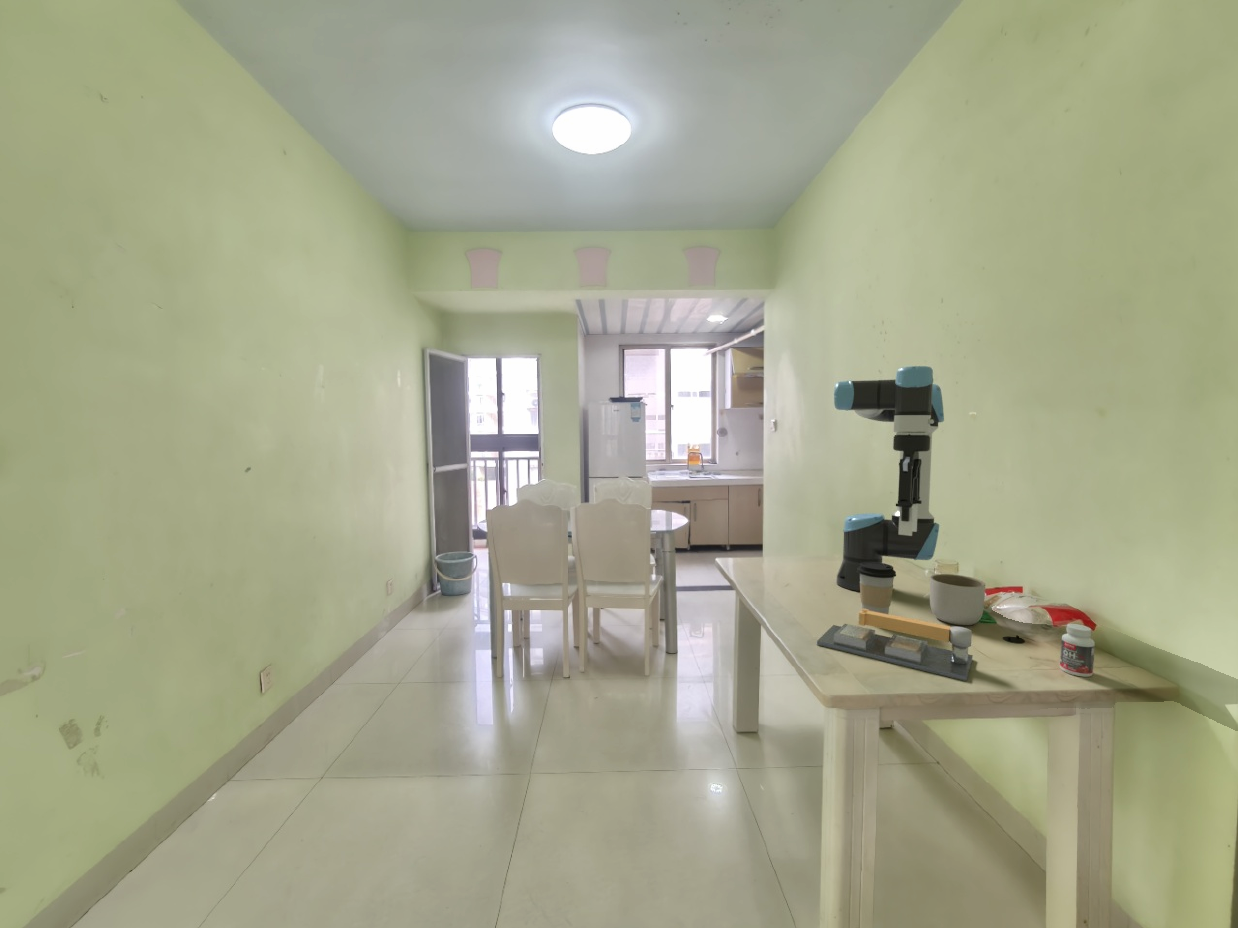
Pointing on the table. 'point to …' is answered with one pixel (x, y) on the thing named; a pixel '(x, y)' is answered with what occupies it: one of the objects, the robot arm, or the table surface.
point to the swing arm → (917, 627)
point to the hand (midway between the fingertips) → (907, 532)
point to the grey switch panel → (899, 650)
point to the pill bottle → (1077, 651)
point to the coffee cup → (876, 586)
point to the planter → (957, 598)
